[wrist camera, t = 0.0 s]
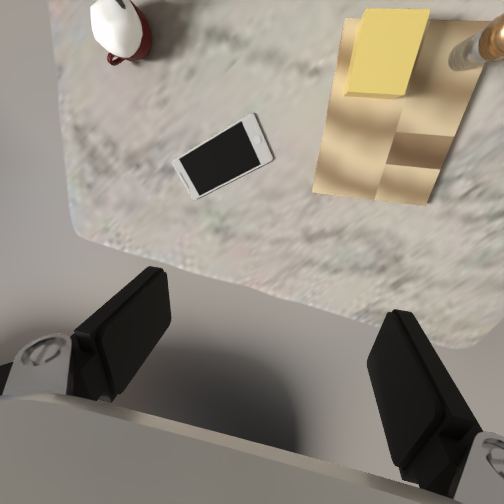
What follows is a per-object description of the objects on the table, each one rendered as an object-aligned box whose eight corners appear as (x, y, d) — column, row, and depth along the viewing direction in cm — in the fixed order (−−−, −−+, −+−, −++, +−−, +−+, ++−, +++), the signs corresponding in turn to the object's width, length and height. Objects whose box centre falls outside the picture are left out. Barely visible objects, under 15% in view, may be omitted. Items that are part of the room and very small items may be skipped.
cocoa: (130, 77, 36) (58, 62, 26) (103, 28, 34) (12, -10, 24) (179, 39, 33) (118, 5, 22) (153, -19, 30) (71, -87, 20)
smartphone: (274, 159, 37) (273, 160, 36) (195, 199, 43) (192, 201, 42) (253, 112, 35) (252, 111, 34) (173, 161, 40) (170, 161, 40)
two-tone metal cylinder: (453, 36, 27) (516, -5, 19) (487, 37, 26) (566, -4, 18) (439, 73, 28) (492, 51, 20) (471, 75, 28) (538, 52, 20)
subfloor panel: (344, 22, 29) (345, 18, 28) (494, 25, 26) (502, 21, 25) (312, 190, 38) (312, 192, 37) (421, 203, 36) (425, 205, 35)
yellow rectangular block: (358, 24, 28) (366, 8, 24) (415, 25, 27) (432, 9, 23) (343, 96, 31) (348, 91, 27) (393, 99, 30) (405, 95, 26)
